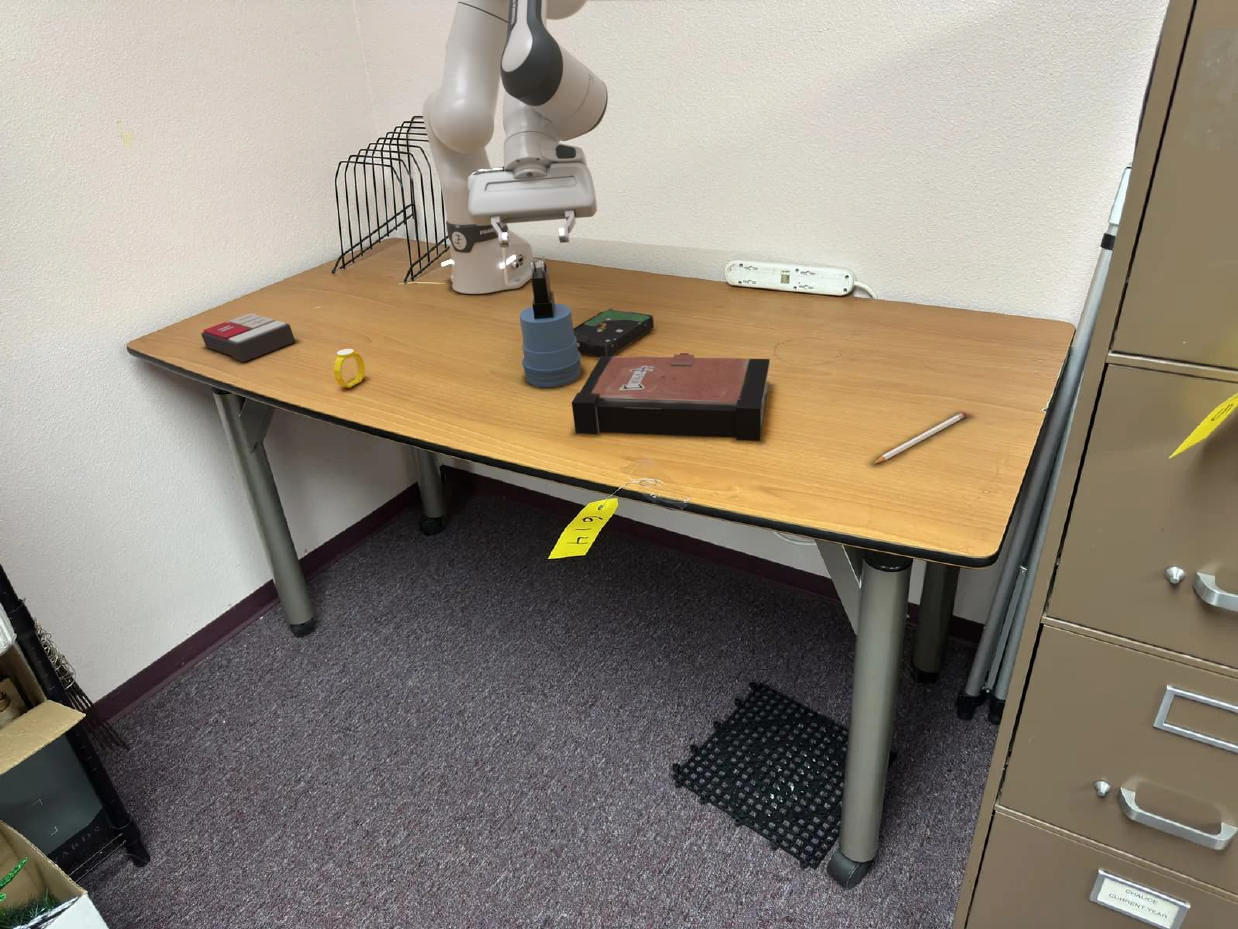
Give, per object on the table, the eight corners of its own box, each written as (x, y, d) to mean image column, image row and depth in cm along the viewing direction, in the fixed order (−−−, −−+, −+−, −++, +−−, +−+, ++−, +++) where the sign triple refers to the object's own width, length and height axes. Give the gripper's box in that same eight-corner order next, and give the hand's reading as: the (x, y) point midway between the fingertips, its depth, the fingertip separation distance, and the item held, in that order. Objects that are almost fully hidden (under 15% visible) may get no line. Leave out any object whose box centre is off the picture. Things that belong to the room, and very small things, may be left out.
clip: (536, 307, 131) (529, 255, 127) (555, 305, 131) (548, 253, 127) (534, 319, 127) (526, 266, 123) (553, 317, 127) (546, 264, 122)
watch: (348, 393, 136) (339, 360, 133) (335, 391, 137) (325, 358, 134) (371, 377, 140) (362, 345, 137) (358, 376, 141) (349, 344, 138)
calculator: (250, 310, 164) (289, 320, 155) (258, 330, 167) (296, 341, 157) (198, 329, 158) (235, 340, 148) (206, 350, 160) (243, 362, 151)
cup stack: (546, 359, 141) (537, 298, 135) (593, 368, 136) (586, 305, 130) (513, 383, 134) (502, 319, 128) (562, 392, 129) (553, 327, 123)
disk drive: (608, 361, 138) (655, 328, 148) (607, 346, 137) (654, 314, 147) (560, 351, 144) (608, 320, 154) (558, 336, 142) (606, 306, 152)
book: (769, 383, 126) (770, 354, 123) (760, 440, 111) (760, 408, 109) (604, 380, 132) (601, 351, 129) (575, 433, 117) (571, 402, 115)
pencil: (966, 417, 112) (967, 413, 112) (876, 467, 104) (876, 462, 103) (961, 415, 113) (962, 411, 112) (871, 464, 104) (871, 460, 104)
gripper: (462, 158, 128) (463, 238, 125) (592, 147, 127) (596, 227, 124) (472, 181, 134) (473, 258, 131) (596, 171, 134) (600, 248, 130)
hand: (534, 243), depth 128 cm, fingers open, 8 cm apart
